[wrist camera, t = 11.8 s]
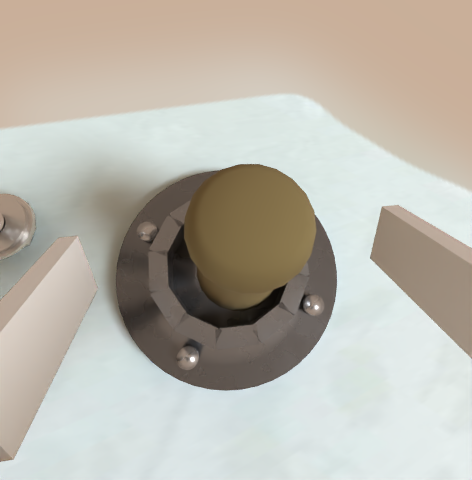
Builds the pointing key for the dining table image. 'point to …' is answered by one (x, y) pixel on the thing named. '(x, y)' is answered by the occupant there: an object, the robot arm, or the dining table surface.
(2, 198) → the screw
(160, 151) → the dining table surface
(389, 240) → the robot arm
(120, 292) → the flange
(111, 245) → the dining table surface
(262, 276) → the cork
